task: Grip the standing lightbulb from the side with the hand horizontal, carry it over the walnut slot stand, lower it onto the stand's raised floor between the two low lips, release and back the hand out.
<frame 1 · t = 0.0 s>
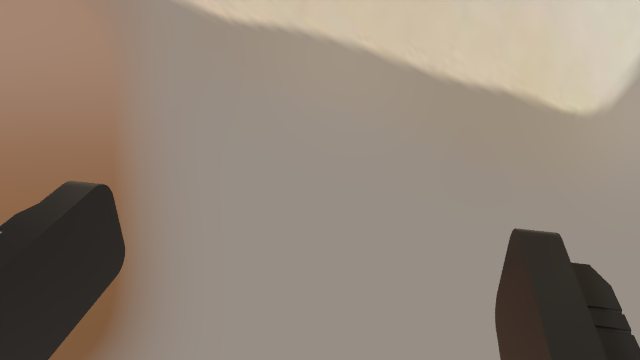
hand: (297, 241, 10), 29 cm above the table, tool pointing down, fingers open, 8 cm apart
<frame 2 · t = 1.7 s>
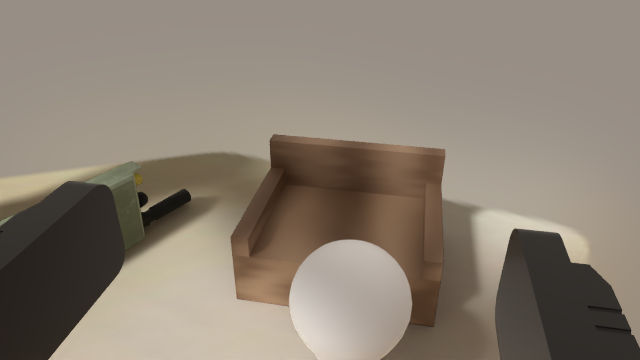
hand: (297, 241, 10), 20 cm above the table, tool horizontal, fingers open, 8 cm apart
handheld radio: (67, 280, 39), on the table
slot stand: (342, 267, 40), on the table
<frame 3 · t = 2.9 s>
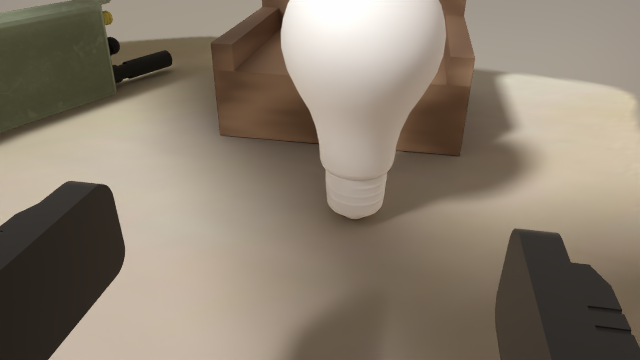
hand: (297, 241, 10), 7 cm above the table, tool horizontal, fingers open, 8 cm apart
lightbulb: (354, 218, 23), on the table
handheld radio: (20, 126, 33), on the table
slot stand: (347, 112, 34), on the table
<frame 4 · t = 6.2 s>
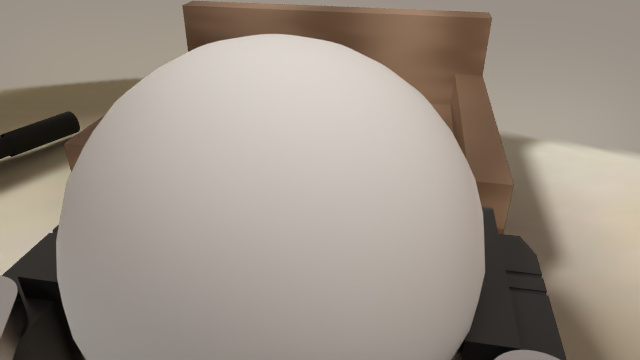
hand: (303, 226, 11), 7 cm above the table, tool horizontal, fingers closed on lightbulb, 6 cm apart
slot stand: (307, 222, 22), on the table
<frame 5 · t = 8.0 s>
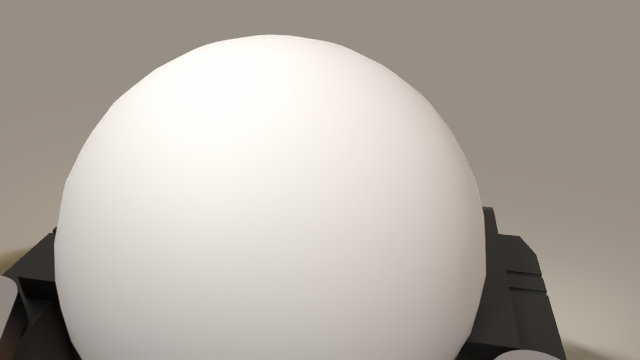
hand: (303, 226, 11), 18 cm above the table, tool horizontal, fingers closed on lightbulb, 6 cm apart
when the fingers open (11 cm above the table, at t = 10.2 s): lightbulb stays where it is, resting on slot stand.
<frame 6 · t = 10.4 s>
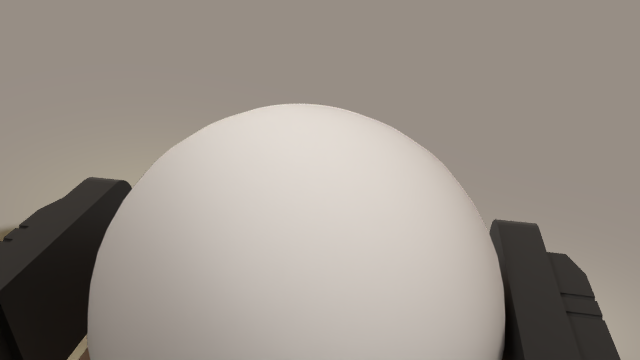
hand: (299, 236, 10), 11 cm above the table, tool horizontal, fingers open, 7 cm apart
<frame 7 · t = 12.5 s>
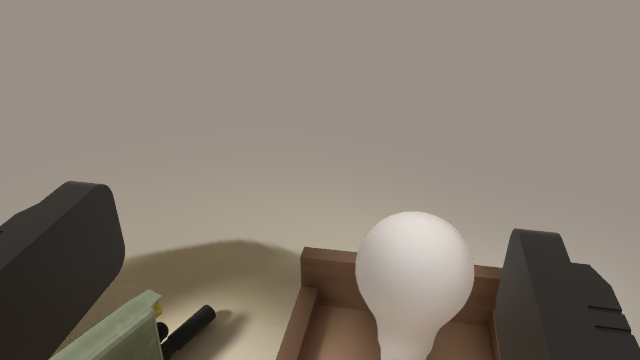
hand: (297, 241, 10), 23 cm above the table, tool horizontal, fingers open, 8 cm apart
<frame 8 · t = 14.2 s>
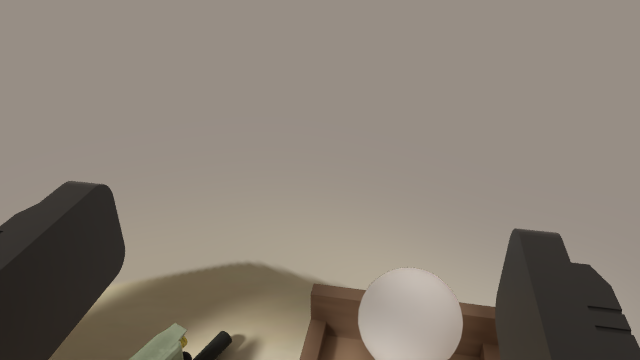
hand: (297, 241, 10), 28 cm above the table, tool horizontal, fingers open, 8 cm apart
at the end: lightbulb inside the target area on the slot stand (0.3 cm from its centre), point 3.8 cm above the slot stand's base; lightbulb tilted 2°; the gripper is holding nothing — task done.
